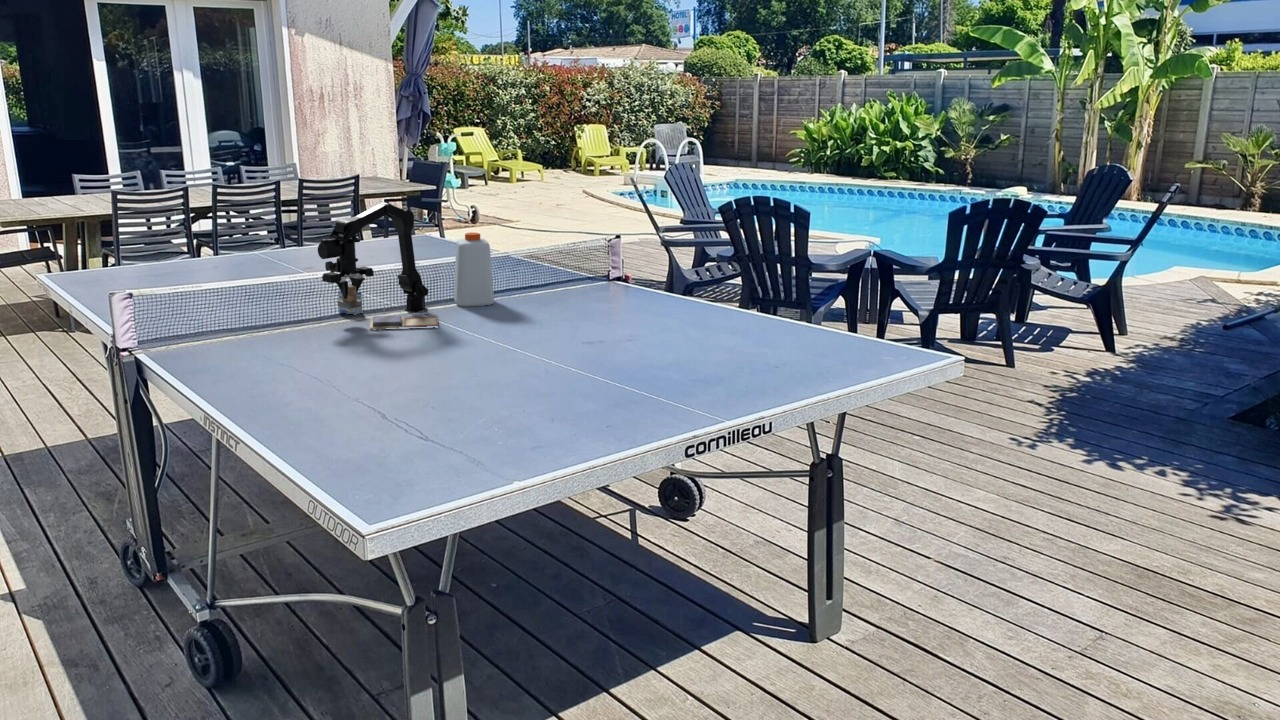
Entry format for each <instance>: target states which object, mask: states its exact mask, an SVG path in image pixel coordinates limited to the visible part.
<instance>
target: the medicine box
mask: <svg viewBox="0 0 1280 720" xmlns="http://www.w3.org/2000/svg"><path fill="white" fill-rule="evenodd" d="M337 293H338V294H337V295H338V301H340V300H343V297H342V293H341V291H340V290H338V292H337ZM356 295H357V300H360V301H362V302H363V294H362V291H358V292H357V294H356ZM338 311H339V313H340V314H342V313H349V314H358V313H362V314H363V305H362V306H361V307H356V308H351V309H346V308H342V307H338Z"/></svg>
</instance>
